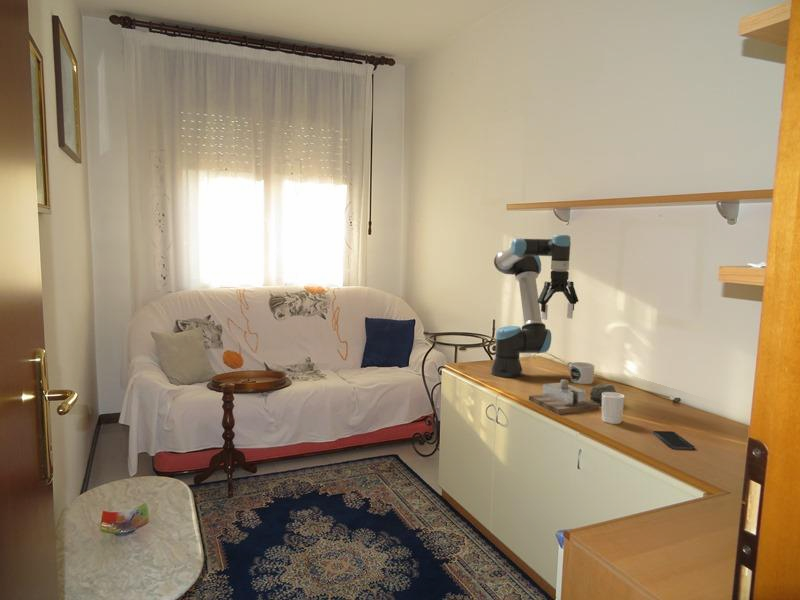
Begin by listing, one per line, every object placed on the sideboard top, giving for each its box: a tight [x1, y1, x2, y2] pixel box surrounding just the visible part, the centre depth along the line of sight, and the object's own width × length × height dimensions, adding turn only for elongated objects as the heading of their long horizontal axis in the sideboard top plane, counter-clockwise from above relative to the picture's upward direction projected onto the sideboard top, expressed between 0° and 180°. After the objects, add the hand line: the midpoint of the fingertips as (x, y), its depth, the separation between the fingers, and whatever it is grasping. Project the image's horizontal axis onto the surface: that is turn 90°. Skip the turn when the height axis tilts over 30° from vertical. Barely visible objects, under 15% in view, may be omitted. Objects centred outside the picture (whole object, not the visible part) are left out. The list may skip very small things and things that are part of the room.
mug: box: [566, 361, 595, 385], centre depth 262 cm, size 13×10×8 cm
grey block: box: [542, 382, 587, 406], centre depth 224 cm, size 14×10×5 cm
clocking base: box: [528, 379, 600, 415], centre depth 224 cm, size 19×20×10 cm
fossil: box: [589, 382, 617, 407], centre depth 228 cm, size 11×9×10 cm
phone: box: [652, 430, 695, 451], centre depth 186 cm, size 8×1×15 cm
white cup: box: [601, 392, 626, 425], centre depth 205 cm, size 8×8×10 cm
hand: (557, 318), depth 244 cm, fingers open, 13 cm apart
